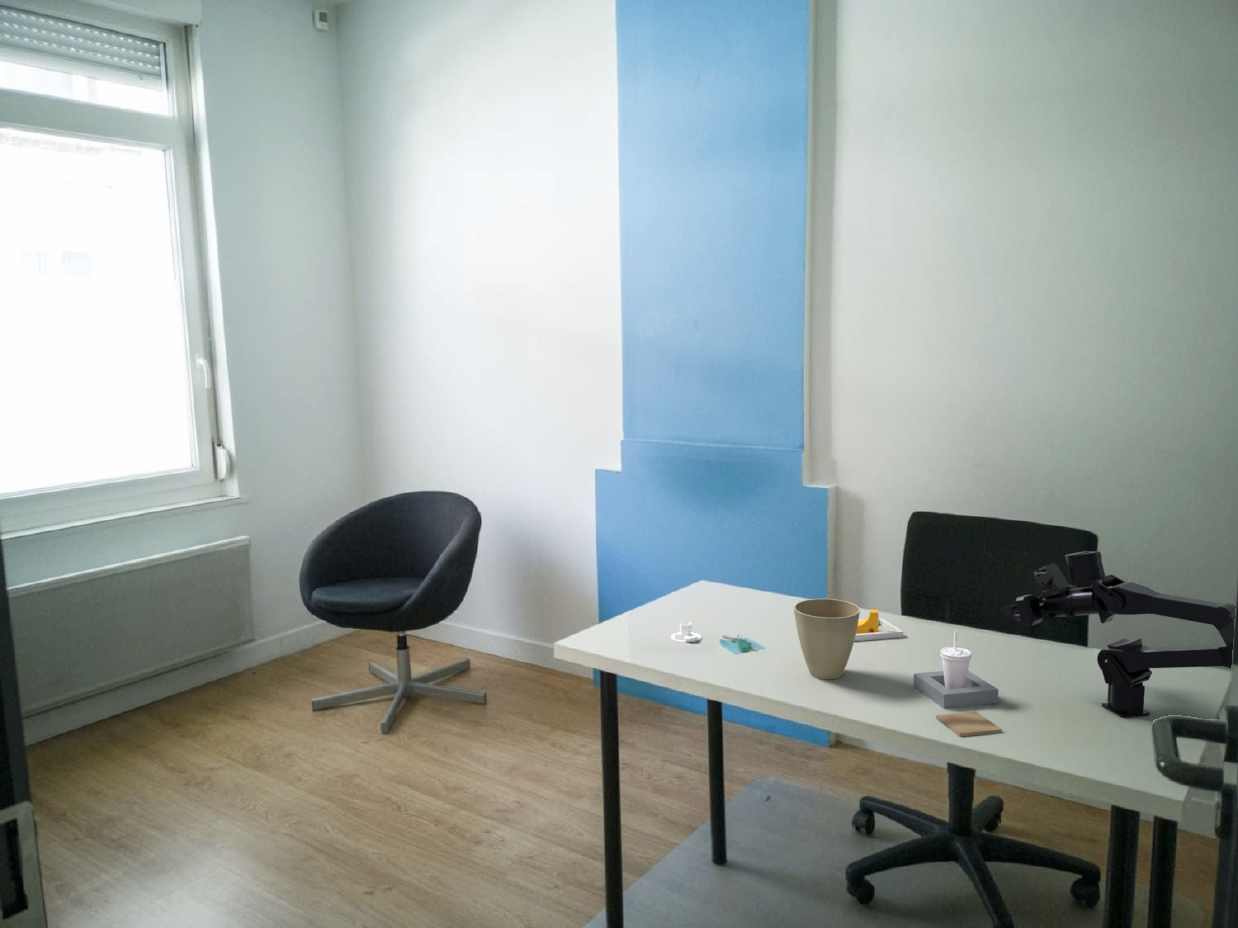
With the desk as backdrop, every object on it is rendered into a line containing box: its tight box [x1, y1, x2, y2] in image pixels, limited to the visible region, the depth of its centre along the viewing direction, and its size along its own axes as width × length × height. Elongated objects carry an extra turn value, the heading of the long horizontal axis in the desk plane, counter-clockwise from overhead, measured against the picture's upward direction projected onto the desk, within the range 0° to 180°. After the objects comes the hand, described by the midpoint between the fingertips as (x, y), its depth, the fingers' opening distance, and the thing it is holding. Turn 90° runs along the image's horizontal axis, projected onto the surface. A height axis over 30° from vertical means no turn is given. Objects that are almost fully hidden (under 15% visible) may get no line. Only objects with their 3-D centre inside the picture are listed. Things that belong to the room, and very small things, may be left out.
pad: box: [935, 710, 1003, 737], centre depth 183 cm, size 9×9×1 cm
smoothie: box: [939, 630, 972, 689], centre depth 198 cm, size 6×6×14 cm
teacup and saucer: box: [670, 621, 702, 643], centre depth 240 cm, size 9×8×4 cm
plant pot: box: [793, 598, 861, 680], centre depth 211 cm, size 15×15×16 cm
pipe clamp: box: [856, 609, 880, 634], centre depth 242 cm, size 12×4×6 cm, turn 70°
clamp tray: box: [854, 617, 904, 642], centre depth 242 cm, size 12×18×2 cm, turn 101°
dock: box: [912, 670, 999, 709], centre depth 199 cm, size 13×13×3 cm
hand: (1013, 607), depth 208 cm, fingers open, 9 cm apart
